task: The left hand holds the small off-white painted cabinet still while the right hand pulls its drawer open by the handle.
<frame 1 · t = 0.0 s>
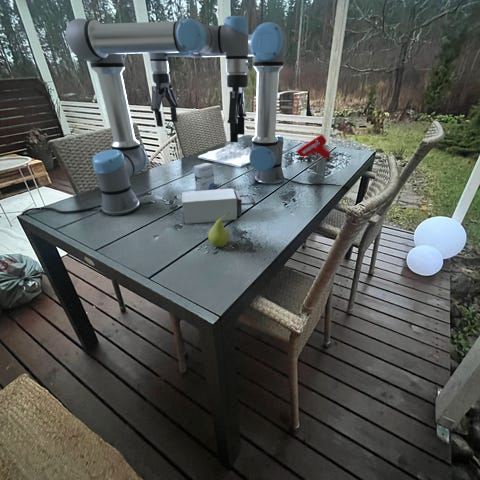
left hand: (237, 138, 105), 28 cm above the table, tool pointing down, fingers open, 13 cm apart
right hand: (167, 124, 132), 28 cm above the table, tool pointing down, fingers open, 13 cm apart
ink box: (205, 188, 136), on the table
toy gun: (312, 158, 178), on the table
fruit: (220, 245, 93), on the table
relief map: (231, 157, 181), on the table
cabinet: (210, 215, 111), on the table
drawer: (223, 204, 109), point 5 cm above the table, slide at 0.8 cm
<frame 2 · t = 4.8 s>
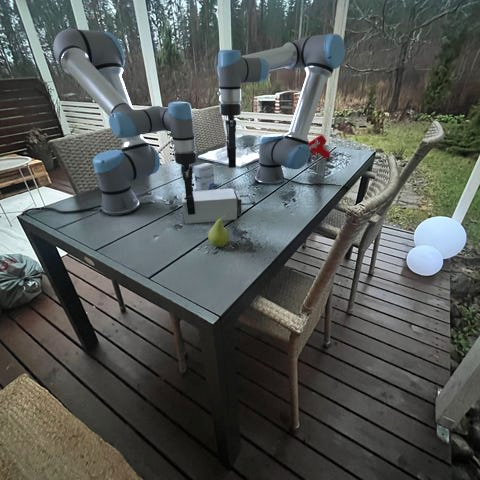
left hand: (191, 207, 108), 4 cm above the table, tool pointing down, fingers closed on cabinet, 10 cm apart
right hand: (231, 162, 108), 19 cm above the table, tool pointing down, fingers open, 13 cm apart
cabinet: (210, 215, 111), on the table, touching left hand
everything else where it was.
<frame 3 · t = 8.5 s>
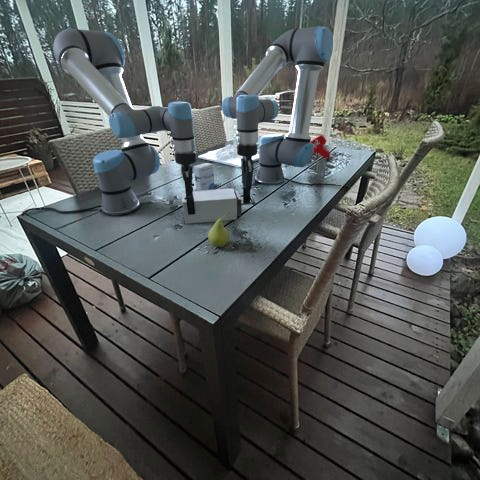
left hand: (191, 207, 108), 4 cm above the table, tool pointing down, fingers closed on cabinet, 10 cm apart
right hand: (246, 202, 111), 5 cm above the table, tool pointing down, fingers closed
cabinet: (210, 215, 111), on the table, touching left hand
drawer: (223, 204, 109), point 5 cm above the table, slide at 0.8 cm, touching right hand
everything else where it was.
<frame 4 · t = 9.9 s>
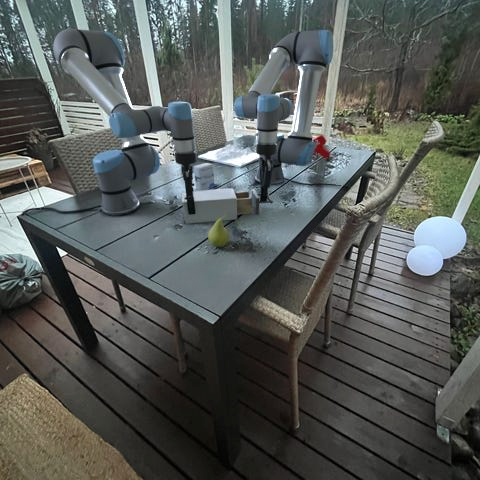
left hand: (191, 207, 108), 4 cm above the table, tool pointing down, fingers closed on cabinet, 10 cm apart
right hand: (263, 201, 112), 4 cm above the table, tool pointing down, fingers closed
cabinet: (210, 215, 111), on the table, touching left hand
drawer: (240, 203, 110), point 5 cm above the table, slide at 7.9 cm, touching right hand
everything else where it was.
when the left hand's fingers open (4 cm above the table, at t = 11.6 s): cabinet stays where it is, on the table.
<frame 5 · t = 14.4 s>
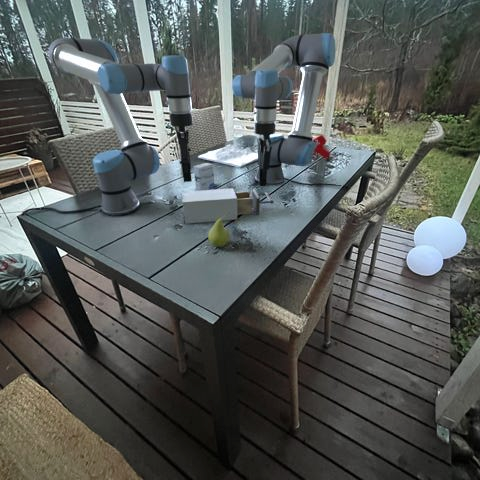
left hand: (187, 175, 101), 18 cm above the table, tool pointing down, fingers open, 13 cm apart
right hand: (262, 185, 108), 12 cm above the table, tool pointing down, fingers closed
cabinet: (210, 215, 111), on the table
drawer: (241, 203, 110), point 5 cm above the table, slide at 8.0 cm
everything else where it was.
at the end: drawer slide at 8.0 cm; cabinet tilted 0°; cabinet never tilted more than 2° during the clip; cabinet moved 0.2 cm from its start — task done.
